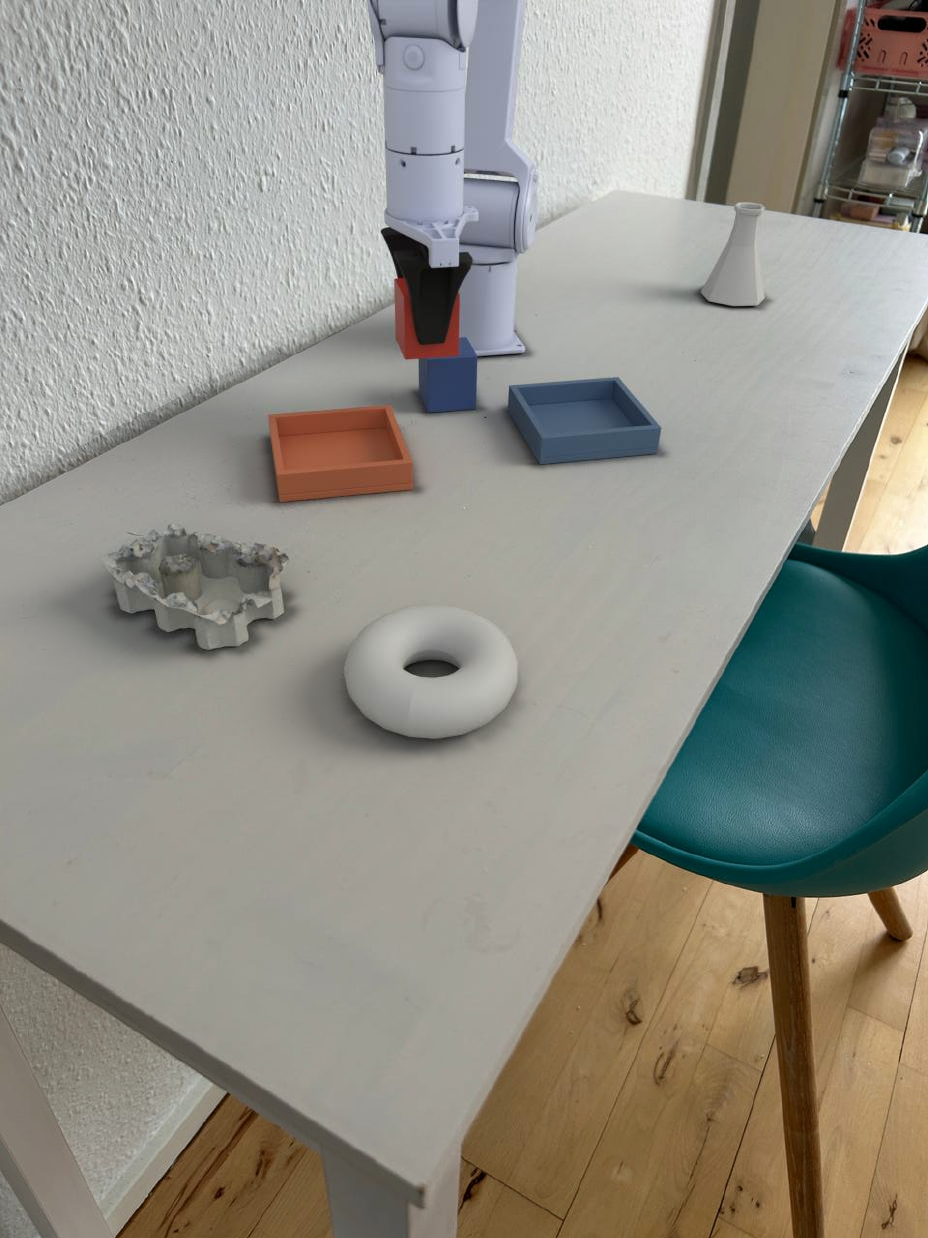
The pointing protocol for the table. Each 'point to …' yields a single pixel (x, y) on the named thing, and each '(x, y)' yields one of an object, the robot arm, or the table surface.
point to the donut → (423, 699)
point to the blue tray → (582, 420)
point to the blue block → (449, 380)
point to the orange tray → (339, 453)
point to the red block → (407, 332)
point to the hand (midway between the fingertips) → (425, 331)
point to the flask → (738, 262)
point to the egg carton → (199, 583)
